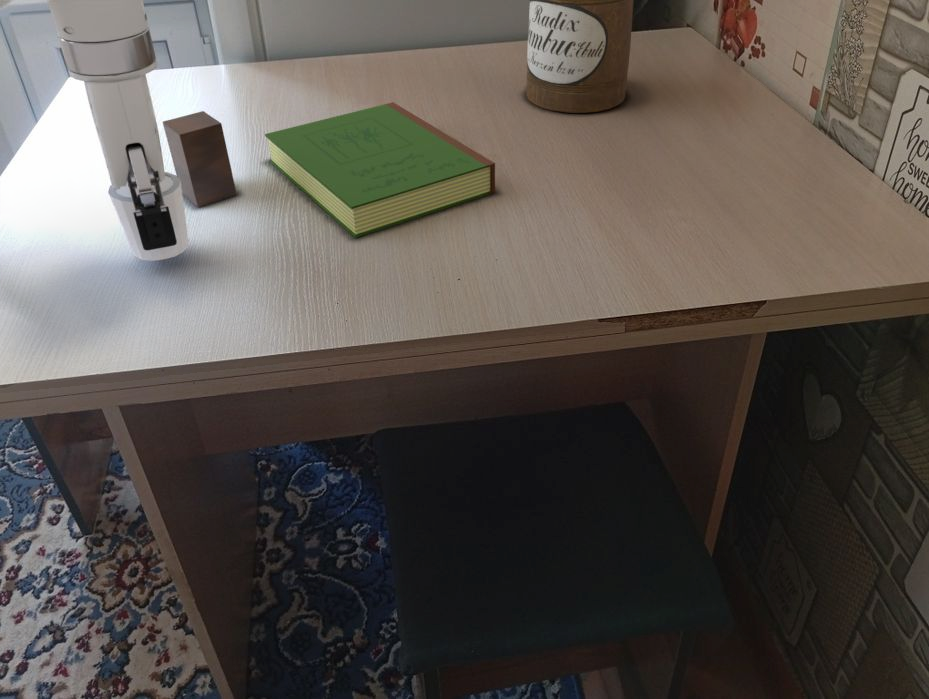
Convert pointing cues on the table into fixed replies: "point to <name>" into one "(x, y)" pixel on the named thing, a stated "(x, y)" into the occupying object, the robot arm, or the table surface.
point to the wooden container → (578, 54)
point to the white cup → (172, 201)
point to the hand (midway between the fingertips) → (155, 228)
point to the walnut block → (200, 158)
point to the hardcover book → (379, 167)
